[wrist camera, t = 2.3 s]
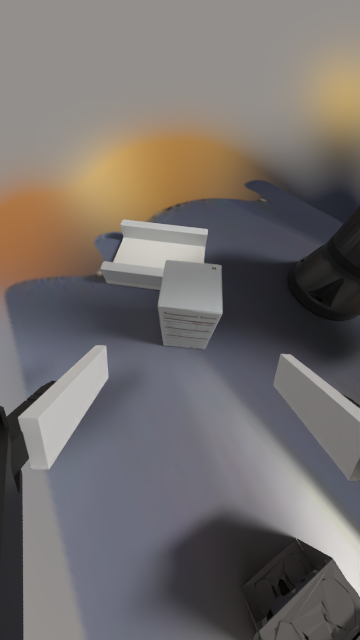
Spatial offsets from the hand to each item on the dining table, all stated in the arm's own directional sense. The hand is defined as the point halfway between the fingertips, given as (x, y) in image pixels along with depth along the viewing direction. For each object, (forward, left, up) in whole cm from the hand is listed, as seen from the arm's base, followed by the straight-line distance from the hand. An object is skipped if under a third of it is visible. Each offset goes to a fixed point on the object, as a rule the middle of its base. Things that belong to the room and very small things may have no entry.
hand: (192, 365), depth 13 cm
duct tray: (+6, -26, -15) cm, 31 cm away
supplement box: (0, -10, -15) cm, 19 cm away
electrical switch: (-10, +18, -15) cm, 26 cm away
